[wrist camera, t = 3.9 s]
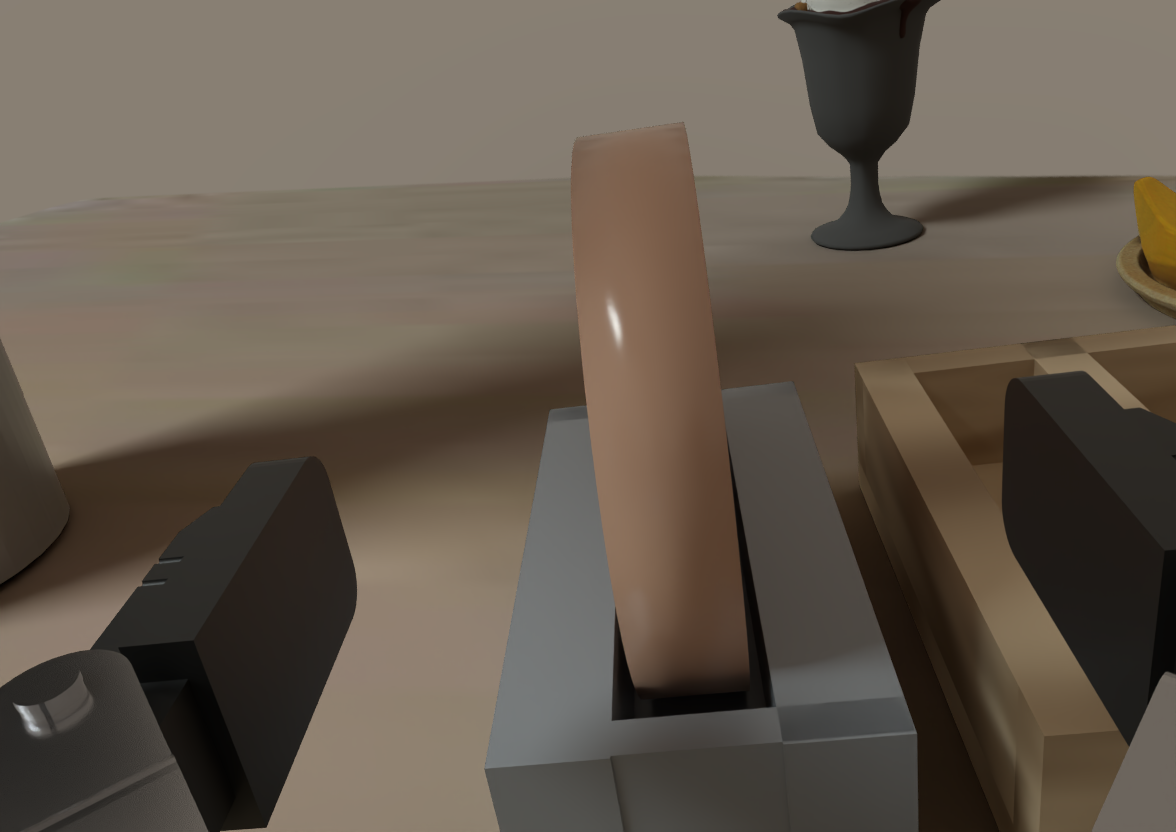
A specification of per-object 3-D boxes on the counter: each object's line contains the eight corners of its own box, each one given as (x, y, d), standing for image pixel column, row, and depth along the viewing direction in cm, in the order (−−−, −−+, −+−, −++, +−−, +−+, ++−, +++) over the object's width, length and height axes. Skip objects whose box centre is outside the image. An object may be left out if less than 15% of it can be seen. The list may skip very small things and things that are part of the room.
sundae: (850, 267, 43) (834, -133, 36) (766, 237, 48) (739, -113, 42) (976, 230, 44) (982, -156, 38) (880, 206, 50) (872, -133, 44)
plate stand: (919, 916, 15) (916, 733, 14) (528, 940, 16) (484, 768, 14) (801, 508, 26) (792, 380, 25) (572, 532, 27) (549, 409, 25)
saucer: (766, 825, 16) (703, 199, 12) (652, 834, 16) (550, 220, 12) (719, 503, 25) (674, 84, 21) (647, 511, 25) (587, 97, 21)
